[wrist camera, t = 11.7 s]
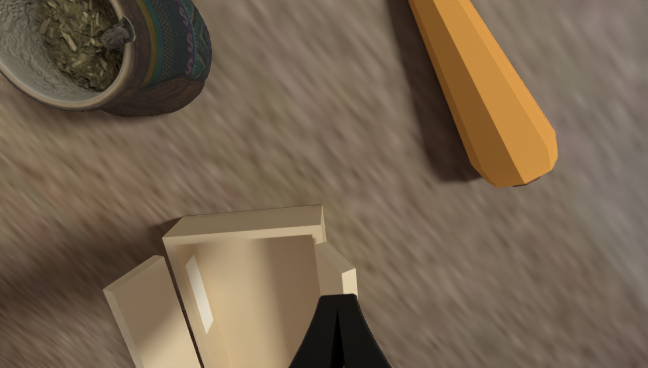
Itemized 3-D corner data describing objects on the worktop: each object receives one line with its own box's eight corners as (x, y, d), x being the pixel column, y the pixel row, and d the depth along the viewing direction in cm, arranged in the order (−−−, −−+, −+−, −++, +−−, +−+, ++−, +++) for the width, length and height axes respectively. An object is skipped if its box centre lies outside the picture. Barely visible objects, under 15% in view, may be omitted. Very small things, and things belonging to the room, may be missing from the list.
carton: (322, 204, 21) (320, 224, 19) (341, 370, 27) (342, 405, 24) (183, 216, 22) (161, 237, 19) (230, 376, 28) (218, 410, 25)
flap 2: (360, 458, 20) (370, 451, 20) (341, 273, 15) (355, 268, 15) (336, 414, 23) (345, 408, 23) (314, 245, 18) (326, 241, 18)
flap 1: (112, 292, 16) (102, 289, 16) (186, 467, 21) (177, 463, 21) (163, 256, 18) (154, 255, 19) (218, 419, 23) (209, 416, 24)
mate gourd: (81, -12, 17) (-216, -116, 8) (212, -36, 17) (65, -174, 7) (127, 117, 20) (-57, 158, 10) (243, 100, 19) (162, 125, 10)
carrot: (518, 158, 21) (590, 156, 17) (470, 196, 20) (533, 204, 16) (368, -141, 17) (410, -246, 13) (302, -109, 16) (323, -209, 12)
